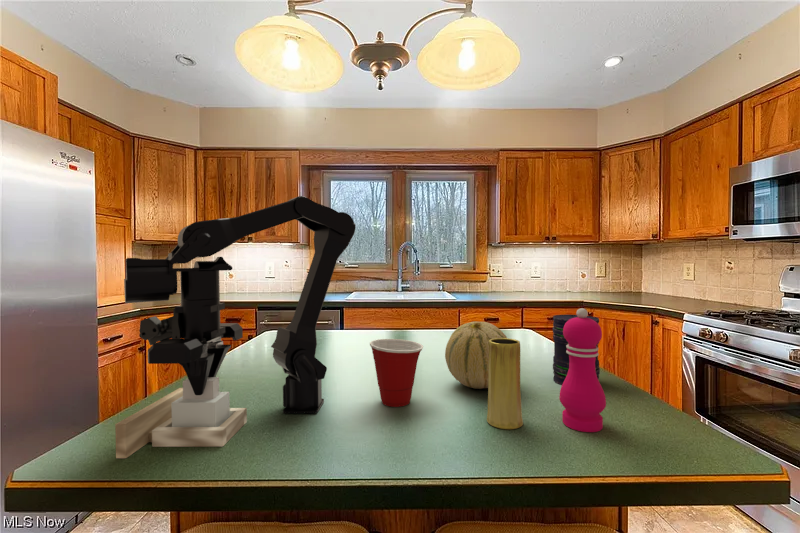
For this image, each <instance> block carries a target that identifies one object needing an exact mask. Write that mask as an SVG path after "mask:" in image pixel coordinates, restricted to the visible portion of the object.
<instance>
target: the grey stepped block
mask: <svg viewBox="0 0 800 533" xmlns="http://www.w3.org/2000/svg"><path fill="white" fill-rule="evenodd" d="M182 388H183V396H182V397H180V398H179V399H177V400H175V401H174V402H172V403H171V407H172V427H219V426H220V425H221V424H223V423H224V422H225V421H226V420H227V419H228V418H229V417H230V408H231V406H230V403H231V402H230V391H220V377H219V376H216V377H208V379H207V382H206V386H205V389H204V392H203V394H202V395H195V394H194V391H193V389H192V386H191V384H190V381H189V379H188V378H185V379H184V380H182Z"/></svg>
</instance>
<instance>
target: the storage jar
mask: <svg viewBox="0 0 800 533" xmlns="http://www.w3.org/2000/svg"><path fill="white" fill-rule="evenodd" d="M575 317H578V316H577V314H555V315H553V316H552V318H553V319H552V320H553V322H552V324H553V325H552V333H553V334H552V340H553V342H554V344H553V345H554V350H553V351H554V352H553V353H554V355H553V357H552V358H553V359H552V360H553V361H552V362H553V363H552V372H553V382H554V383H555V384H557V385H560V386H562V384H563V382H564V380H565V378H566V376H567V374H568V370H569V362H570V360H569V354H567V353H566V350H567V347H566V345H567V344H568V342H567V340H566V339H565V338H564V335H563V328H564V325H565V323H566V322H567V321H568V320H570V319H572V318H575ZM586 318H590V319H592V320H594V321H596V322H597V323H598V324H599V323H600V318H599V317H597V316H592V315H587V317H586ZM599 344H600V342H599V343H598V344H597V345H596V346H597V347H598V348H599ZM595 370H596V375H597V378H598V380H599V379H600V370H601V369H600V360H599V355H598V356H596V360H595Z"/></svg>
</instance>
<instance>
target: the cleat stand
mask: <svg viewBox="0 0 800 533" xmlns="http://www.w3.org/2000/svg"><path fill="white" fill-rule="evenodd" d="M182 396H183V387H178V388H177V389H175V390H174V391H172V392H169V393H168V394H166V395H164V396H163V397H161V398H159V399H158V400H156V401H154V402H152V403H151V404H149V405H147V406H145V407H143V408H142V409H140V410H138V411H136V412H134V413H132V414H131V415H129V416H127V417H125V418H124V419H122V420H121V421H119V422H117V423H115V425H114V427H115V429H114V430H115V458H116V459H127V458H129V457H130V456H132V455H133V454H134V453H135V452H138V451H139V450H140V449H141V448H143V447H144V446H146V445H147V444H148V443H151V445H152V446H151V447H154V448H155V447H156V448H157V447H162V448H163V447H167V448H170V447H173V448H174V447H181V448H182V447H192V448H194V447H224V446H225V445H226V444H227V443H228V442H229V441H230V440H231V439H232V438H233V437H234V436H235V435H236V434H237V433H238V432H239V431H240V430H241V428H242V427H244V426H245V424H247V422H248V416H247V415H248V409H247V407H230V417H229V418H228V419H227V420H226V421H225V422H224V423H223V424H221V425H220V426H219V427H172V407H171V403H172V402H174V401H175V400H177V399H179V398H180V397H182Z"/></svg>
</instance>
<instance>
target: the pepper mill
mask: <svg viewBox="0 0 800 533" xmlns="http://www.w3.org/2000/svg"><path fill="white" fill-rule="evenodd" d="M575 315H577V316H578V317H575V318H572V319H570V320H568V321H567V322H566V323H565V325H564V328H563V335H564V338H565V339H566V340H567V342H568V344H567V345H566V347H567V350H566V353H567V354H569V360H570V362H569V370H568V374H567V376H566V378H565V380H564V382H563V384H562V385H560V386H561V387H560V389H559V390H560V391H559V396H558V397H559V402H560V404H561V405H562V406H563V408H564V409H563V410H562V419H561V420H562V423H563V425H565V426H566V427H568V428H569V429H572V430H574V431H578V432H584V433H597V432H600V431H602V430H603V428H604V420H603V419H604V417H603V416H602V415H601V413H602V412H603V411H604V410H605V409H606V406H607V398H606V394H605V391H604V389H603V387H602V384H601V383H600V381H599V379H598V378H597V375H596V370H595V360H596V356H598V357H599V355H600V354H599V349H600V348H599V346H598V347H597V346H596V345H597V344H598V343H599V344H600V342H601V340H602V336H603V332H602V327H601V326H600V324H599V323H597V322H596V321H594V320H592V319H590V318H586V317H587V316H589V313H588V310H587V309H586V308H583V307H582V308H578V309H576V313H575ZM599 344H598V345H599Z"/></svg>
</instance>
